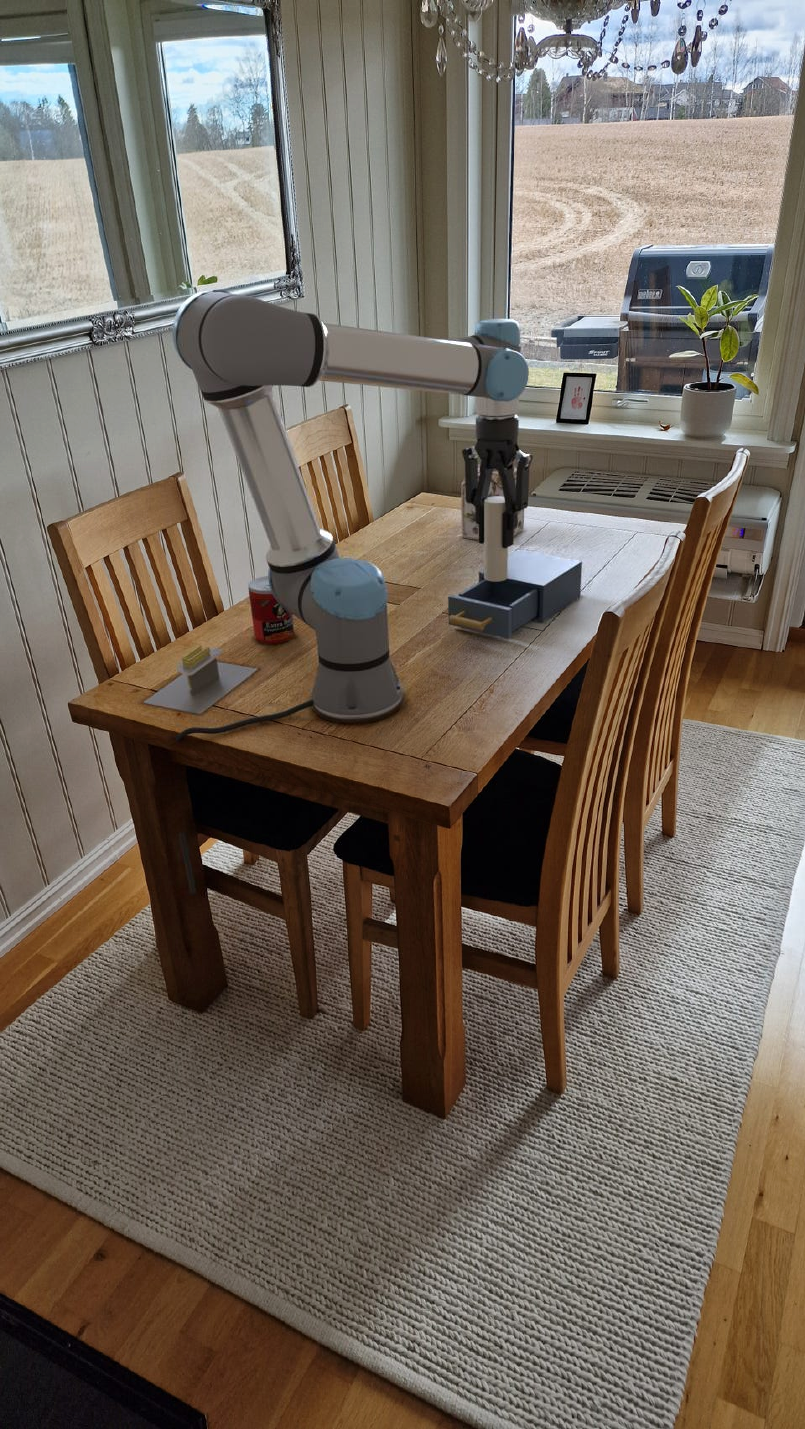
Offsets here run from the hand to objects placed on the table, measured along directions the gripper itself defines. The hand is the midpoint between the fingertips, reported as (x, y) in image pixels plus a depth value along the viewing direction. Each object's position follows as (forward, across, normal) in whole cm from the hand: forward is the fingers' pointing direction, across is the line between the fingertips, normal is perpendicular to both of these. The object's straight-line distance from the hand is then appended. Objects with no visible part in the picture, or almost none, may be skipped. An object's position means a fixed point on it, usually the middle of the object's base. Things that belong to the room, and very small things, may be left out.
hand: (496, 543), depth 180 cm
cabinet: (+16, 0, -13) cm, 21 cm away
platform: (+17, +30, +49) cm, 60 cm away
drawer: (+15, 0, +1) cm, 15 cm away
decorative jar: (+16, +29, -46) cm, 57 cm away
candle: (+7, 0, 0) cm, 7 cm away
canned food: (+17, +33, +27) cm, 46 cm away
